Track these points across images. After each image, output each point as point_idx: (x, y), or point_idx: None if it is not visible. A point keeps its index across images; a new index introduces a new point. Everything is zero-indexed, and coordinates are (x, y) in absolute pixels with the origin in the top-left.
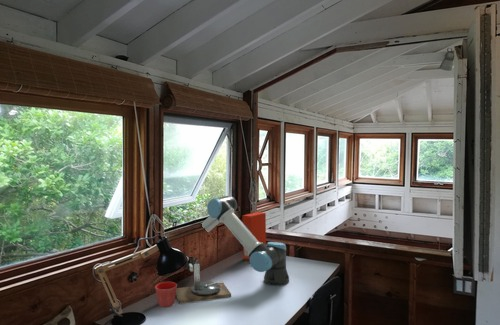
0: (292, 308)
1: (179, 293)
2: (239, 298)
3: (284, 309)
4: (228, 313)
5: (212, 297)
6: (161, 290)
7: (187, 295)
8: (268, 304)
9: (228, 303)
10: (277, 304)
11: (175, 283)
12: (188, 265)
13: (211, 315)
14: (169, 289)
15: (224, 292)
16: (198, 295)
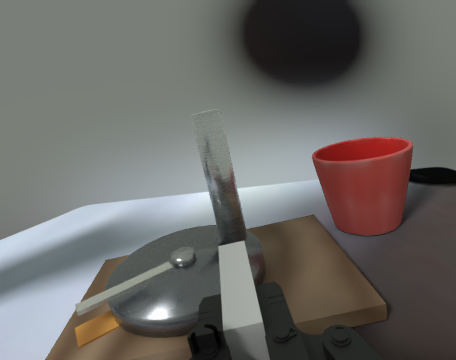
0: (27, 232)
1: (327, 254)
2: (93, 261)
3: (46, 228)
4: (173, 208)
5: None
6: (364, 141)
7: (283, 243)
8: (53, 240)
9: (147, 237)
10: (34, 241)
11: (323, 160)
12: (270, 308)
13: None
14: (333, 145)
15: None
16: None
